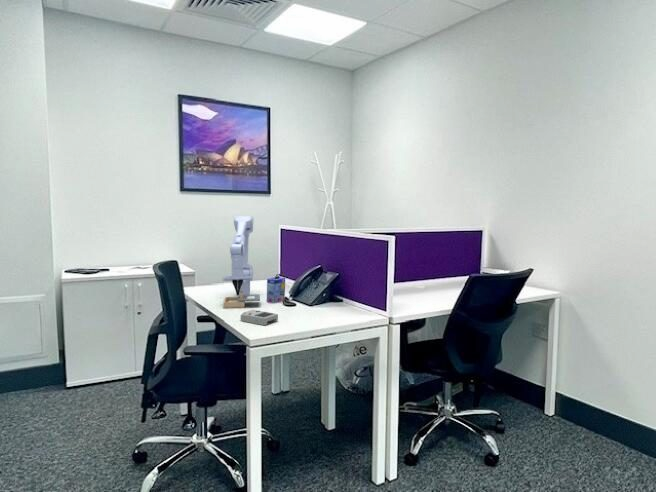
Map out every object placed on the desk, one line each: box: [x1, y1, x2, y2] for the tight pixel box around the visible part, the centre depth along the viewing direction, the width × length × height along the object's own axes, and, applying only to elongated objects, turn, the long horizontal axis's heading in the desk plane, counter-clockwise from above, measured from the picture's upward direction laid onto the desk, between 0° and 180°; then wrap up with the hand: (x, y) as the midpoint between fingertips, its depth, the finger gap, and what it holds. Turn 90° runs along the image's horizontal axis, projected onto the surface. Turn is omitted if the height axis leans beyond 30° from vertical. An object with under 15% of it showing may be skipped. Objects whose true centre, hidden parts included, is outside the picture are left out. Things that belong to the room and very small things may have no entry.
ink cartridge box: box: [266, 273, 286, 304], centre depth 231 cm, size 10×6×14 cm, turn 152°
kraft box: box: [222, 296, 246, 309], centre depth 222 cm, size 12×10×3 cm
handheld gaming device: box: [240, 309, 279, 326], centre depth 193 cm, size 9×15×4 cm, turn 58°
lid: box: [238, 291, 261, 302], centre depth 222 cm, size 12×10×3 cm
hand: (237, 294), depth 221 cm, fingers closed
